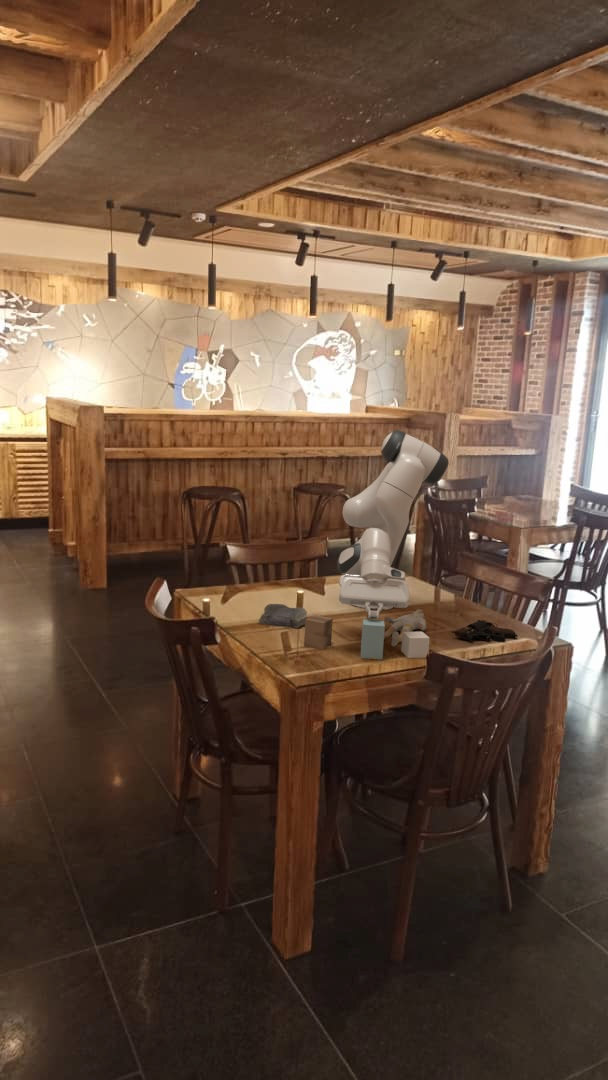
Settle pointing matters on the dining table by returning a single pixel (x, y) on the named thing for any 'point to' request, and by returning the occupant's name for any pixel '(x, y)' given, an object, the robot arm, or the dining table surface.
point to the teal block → (372, 638)
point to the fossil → (283, 616)
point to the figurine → (404, 625)
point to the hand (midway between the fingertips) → (373, 617)
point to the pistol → (485, 632)
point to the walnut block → (318, 631)
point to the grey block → (415, 644)
